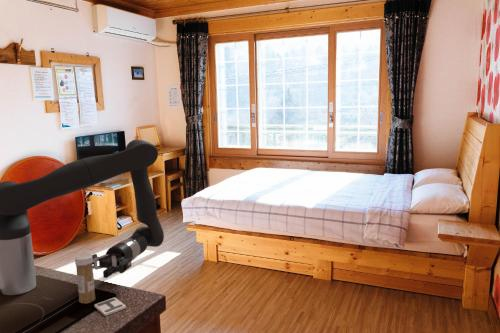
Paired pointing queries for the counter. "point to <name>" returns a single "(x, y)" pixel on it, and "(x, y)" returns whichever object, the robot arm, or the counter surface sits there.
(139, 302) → the counter surface
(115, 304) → the letter card
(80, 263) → the sprinkles bottle
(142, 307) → the counter surface
